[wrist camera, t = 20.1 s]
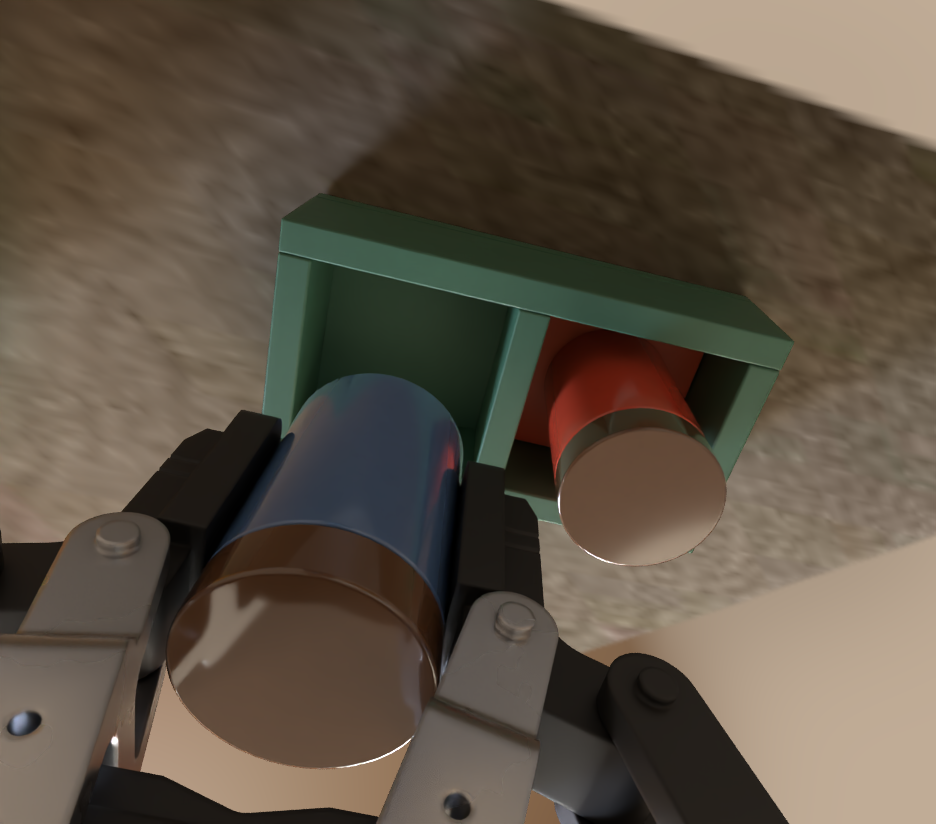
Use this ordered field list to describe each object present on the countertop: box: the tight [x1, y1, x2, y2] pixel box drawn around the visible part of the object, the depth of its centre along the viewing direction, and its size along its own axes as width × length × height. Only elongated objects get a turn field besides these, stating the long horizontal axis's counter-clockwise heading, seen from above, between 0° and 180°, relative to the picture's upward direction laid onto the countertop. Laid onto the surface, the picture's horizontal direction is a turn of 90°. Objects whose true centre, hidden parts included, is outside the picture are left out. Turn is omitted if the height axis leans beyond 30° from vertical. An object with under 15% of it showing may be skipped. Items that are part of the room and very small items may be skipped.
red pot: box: [544, 329, 727, 566], centre depth 17 cm, size 4×4×6 cm
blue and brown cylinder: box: [165, 373, 463, 769], centre depth 12 cm, size 4×4×6 cm
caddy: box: [262, 193, 794, 553], centre depth 19 cm, size 7×12×4 cm, turn 77°
